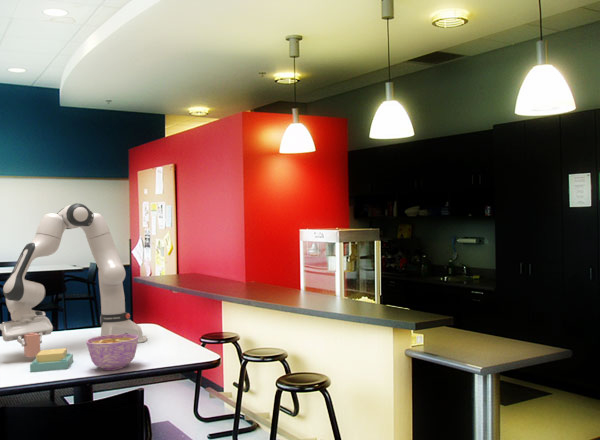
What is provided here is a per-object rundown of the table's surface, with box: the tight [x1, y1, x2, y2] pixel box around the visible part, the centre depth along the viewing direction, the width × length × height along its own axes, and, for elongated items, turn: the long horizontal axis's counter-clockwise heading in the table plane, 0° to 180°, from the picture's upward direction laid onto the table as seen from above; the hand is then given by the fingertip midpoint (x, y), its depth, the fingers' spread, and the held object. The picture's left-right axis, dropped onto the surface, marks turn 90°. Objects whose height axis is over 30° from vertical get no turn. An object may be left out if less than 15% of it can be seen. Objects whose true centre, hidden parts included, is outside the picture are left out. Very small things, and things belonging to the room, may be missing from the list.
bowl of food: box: [86, 334, 139, 371], centre depth 238 cm, size 20×20×12 cm
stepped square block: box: [29, 348, 74, 373], centre depth 244 cm, size 14×14×6 cm
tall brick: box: [23, 333, 41, 358], centre depth 257 cm, size 5×5×10 cm
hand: (32, 344), depth 256 cm, fingers closed on tall brick, 5 cm apart
